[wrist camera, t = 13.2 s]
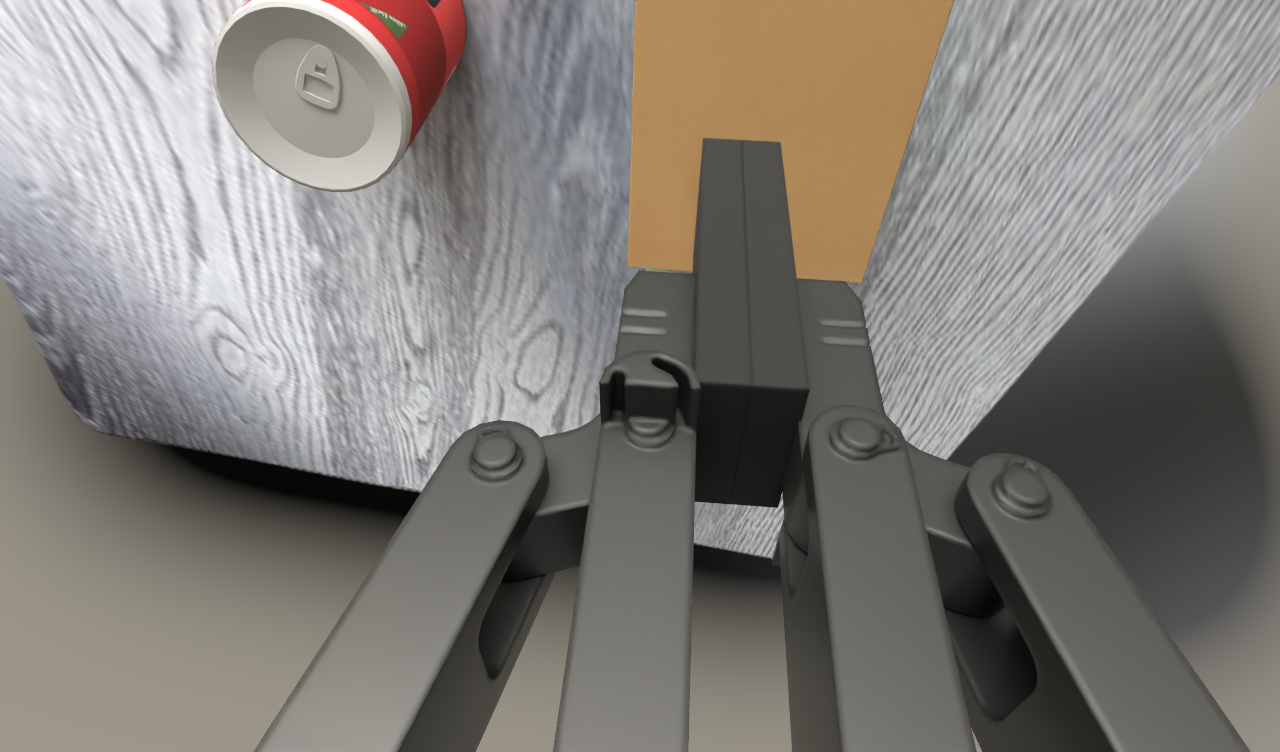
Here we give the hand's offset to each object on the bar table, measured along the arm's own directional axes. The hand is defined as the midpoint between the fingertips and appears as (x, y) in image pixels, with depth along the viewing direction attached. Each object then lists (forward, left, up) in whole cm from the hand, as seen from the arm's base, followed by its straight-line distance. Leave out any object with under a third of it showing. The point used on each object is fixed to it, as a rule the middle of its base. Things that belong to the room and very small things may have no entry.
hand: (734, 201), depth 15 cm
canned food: (+15, -7, -25) cm, 30 cm away
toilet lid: (+3, +6, -16) cm, 17 cm away
